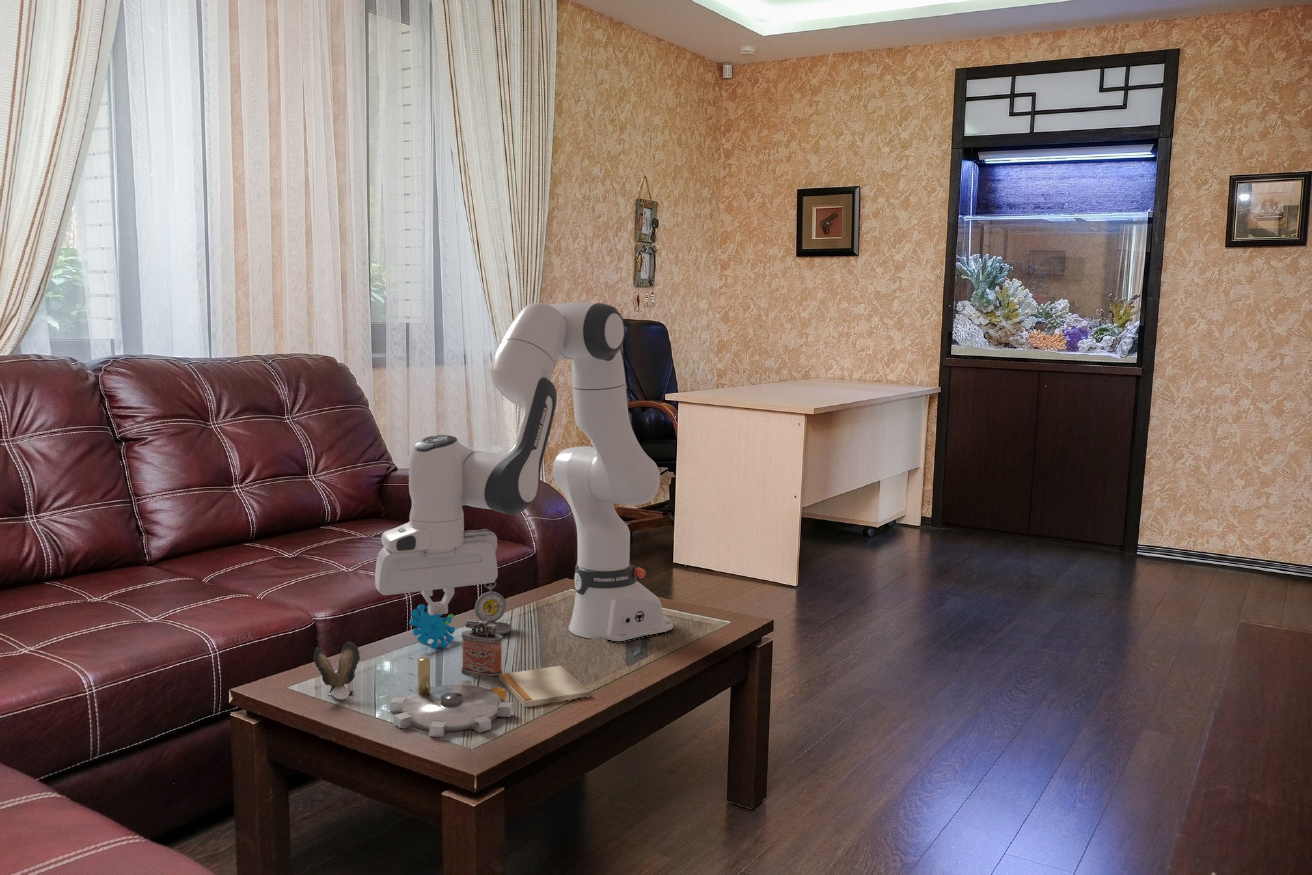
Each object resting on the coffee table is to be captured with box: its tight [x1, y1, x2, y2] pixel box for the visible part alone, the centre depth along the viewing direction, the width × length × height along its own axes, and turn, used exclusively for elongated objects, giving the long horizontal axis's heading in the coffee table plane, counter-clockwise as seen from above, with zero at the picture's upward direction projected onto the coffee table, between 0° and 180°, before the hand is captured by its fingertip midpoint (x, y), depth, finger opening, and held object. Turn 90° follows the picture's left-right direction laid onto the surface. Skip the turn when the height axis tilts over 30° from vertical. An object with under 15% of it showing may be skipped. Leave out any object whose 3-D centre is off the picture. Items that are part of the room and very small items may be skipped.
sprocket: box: [389, 656, 514, 738], centre depth 168 cm, size 20×20×8 cm
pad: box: [498, 665, 591, 708], centre depth 180 cm, size 12×14×1 cm
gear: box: [408, 604, 456, 650], centre depth 203 cm, size 11×6×10 cm
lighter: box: [461, 619, 503, 680], centre depth 186 cm, size 8×3×10 cm, turn 70°
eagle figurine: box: [313, 640, 361, 701], centre depth 173 cm, size 8×7×9 cm
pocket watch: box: [474, 580, 513, 635], centre depth 212 cm, size 8×8×10 cm
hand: (438, 613), depth 171 cm, fingers closed
